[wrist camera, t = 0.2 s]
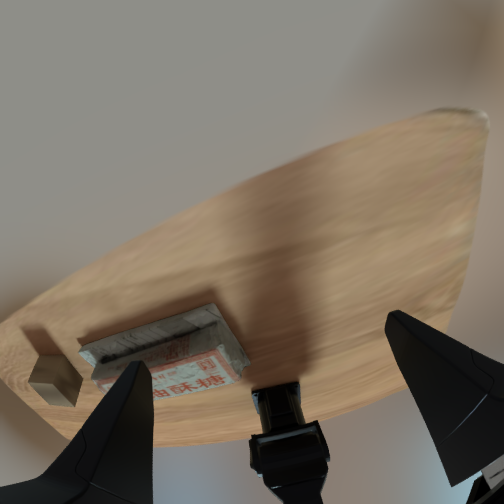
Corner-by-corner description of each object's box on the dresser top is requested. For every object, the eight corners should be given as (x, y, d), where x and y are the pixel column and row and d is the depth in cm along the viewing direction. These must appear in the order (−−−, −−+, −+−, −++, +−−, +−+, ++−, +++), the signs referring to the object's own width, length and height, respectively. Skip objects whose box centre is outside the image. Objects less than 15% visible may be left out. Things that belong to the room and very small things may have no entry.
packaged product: (215, 332, 22) (256, 390, 27) (213, 296, 26) (250, 357, 31) (69, 373, 23) (123, 418, 28) (80, 342, 27) (128, 389, 32)
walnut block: (83, 378, 30) (75, 407, 25) (58, 378, 30) (49, 404, 25) (64, 354, 27) (52, 383, 23) (39, 354, 27) (27, 382, 23)
